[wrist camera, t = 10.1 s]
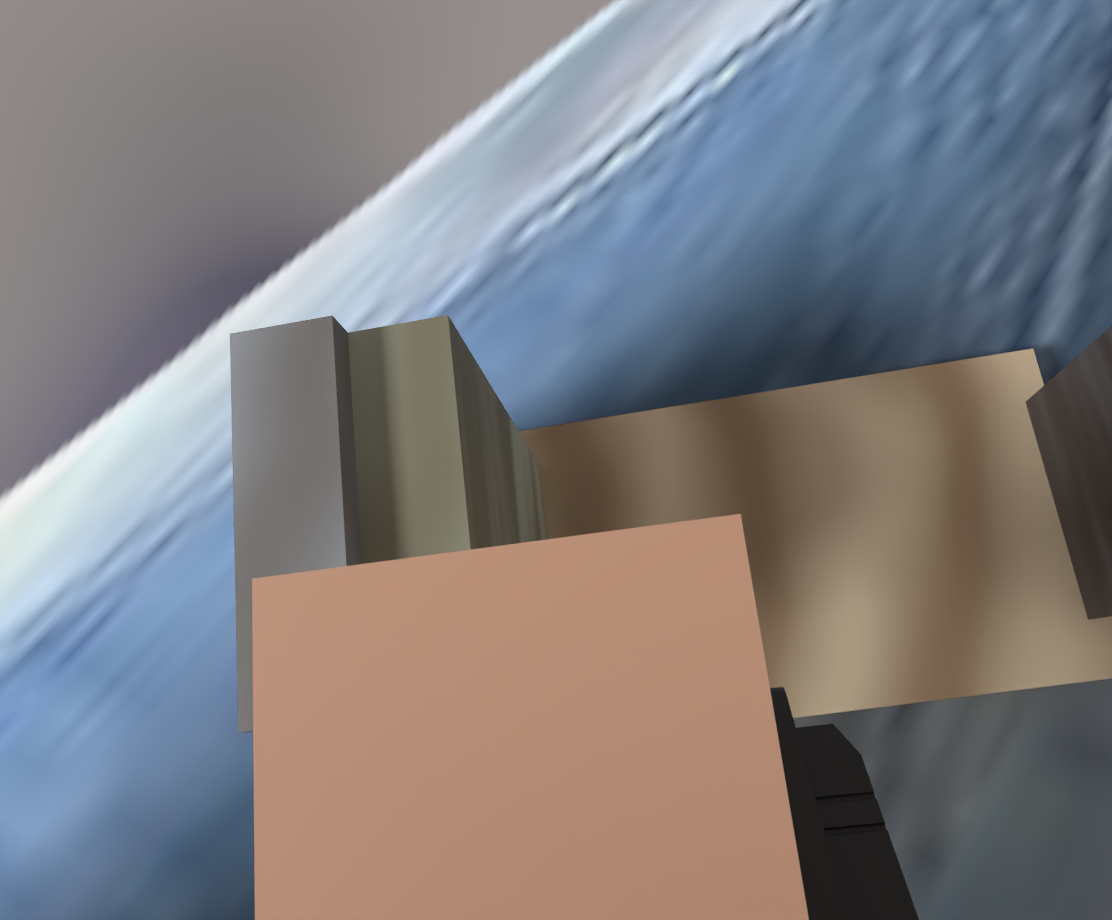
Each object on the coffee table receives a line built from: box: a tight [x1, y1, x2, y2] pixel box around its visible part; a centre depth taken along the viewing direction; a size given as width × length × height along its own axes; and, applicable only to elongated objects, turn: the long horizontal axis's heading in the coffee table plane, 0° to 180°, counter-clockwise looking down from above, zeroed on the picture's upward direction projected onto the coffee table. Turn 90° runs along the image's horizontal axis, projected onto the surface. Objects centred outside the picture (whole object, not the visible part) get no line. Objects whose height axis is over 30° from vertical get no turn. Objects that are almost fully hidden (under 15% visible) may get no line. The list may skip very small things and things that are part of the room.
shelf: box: [230, 315, 1112, 733], centre depth 26 cm, size 24×12×16 cm, turn 97°
